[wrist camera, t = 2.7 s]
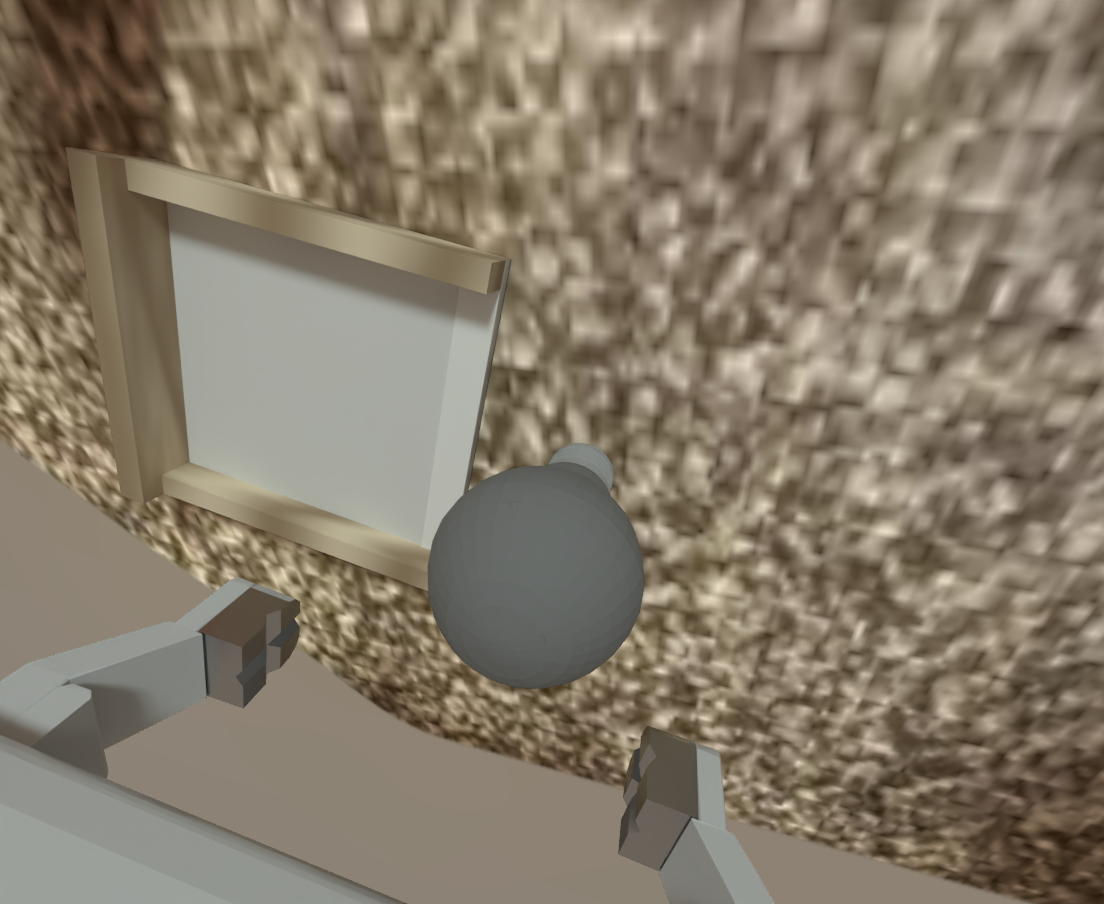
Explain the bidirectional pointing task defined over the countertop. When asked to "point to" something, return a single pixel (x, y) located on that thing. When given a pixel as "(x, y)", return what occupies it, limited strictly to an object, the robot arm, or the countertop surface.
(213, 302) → the white flat square tray
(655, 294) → the countertop surface
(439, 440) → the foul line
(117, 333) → the tan piece
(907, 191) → the countertop surface
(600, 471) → the light bulb
